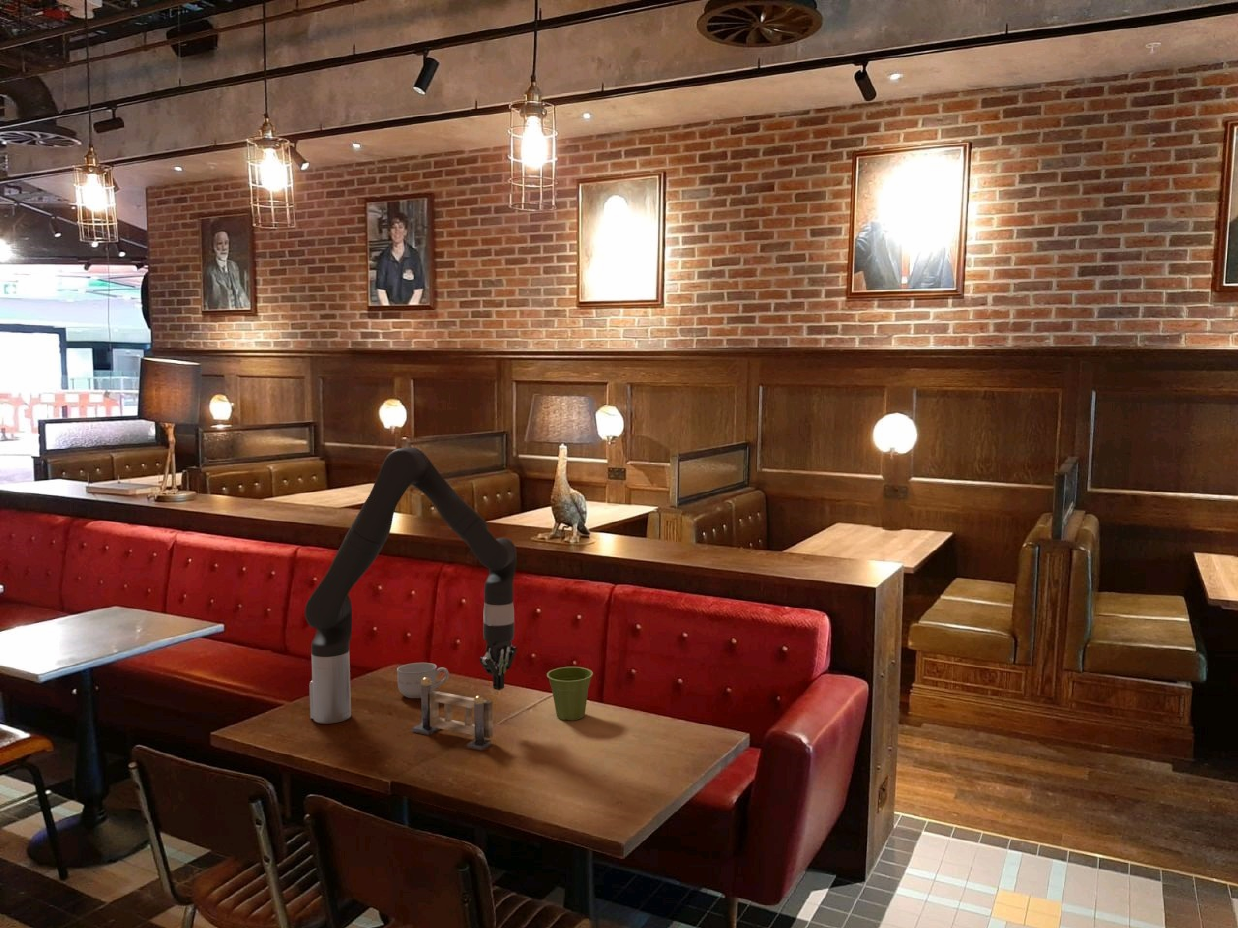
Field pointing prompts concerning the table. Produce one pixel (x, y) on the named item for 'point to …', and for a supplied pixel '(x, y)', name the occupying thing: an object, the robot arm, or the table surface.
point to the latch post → (479, 726)
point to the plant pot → (570, 691)
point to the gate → (469, 705)
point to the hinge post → (425, 709)
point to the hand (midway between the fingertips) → (498, 688)
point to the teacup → (418, 678)
